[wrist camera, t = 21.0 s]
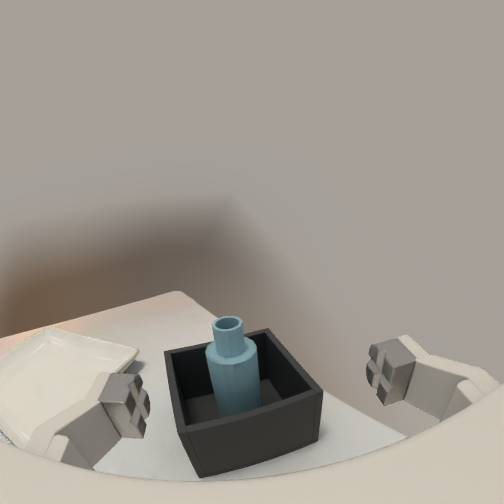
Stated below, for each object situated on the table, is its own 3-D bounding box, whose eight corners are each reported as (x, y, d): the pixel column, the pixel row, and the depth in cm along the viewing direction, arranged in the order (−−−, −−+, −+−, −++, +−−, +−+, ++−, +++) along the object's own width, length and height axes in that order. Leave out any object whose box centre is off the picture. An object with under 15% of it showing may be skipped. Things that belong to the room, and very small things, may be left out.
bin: (271, 376, 38) (268, 327, 36) (317, 441, 25) (323, 390, 23) (179, 399, 34) (163, 351, 32) (199, 478, 21) (177, 433, 19)
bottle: (254, 401, 32) (244, 306, 29) (269, 426, 28) (261, 329, 24) (217, 411, 31) (196, 317, 27) (228, 439, 26) (206, 342, 23)
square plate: (49, 477, 17) (31, 459, 16) (-29, 401, 23) (-39, 384, 22) (146, 363, 42) (140, 344, 41) (52, 338, 48) (46, 323, 47)
